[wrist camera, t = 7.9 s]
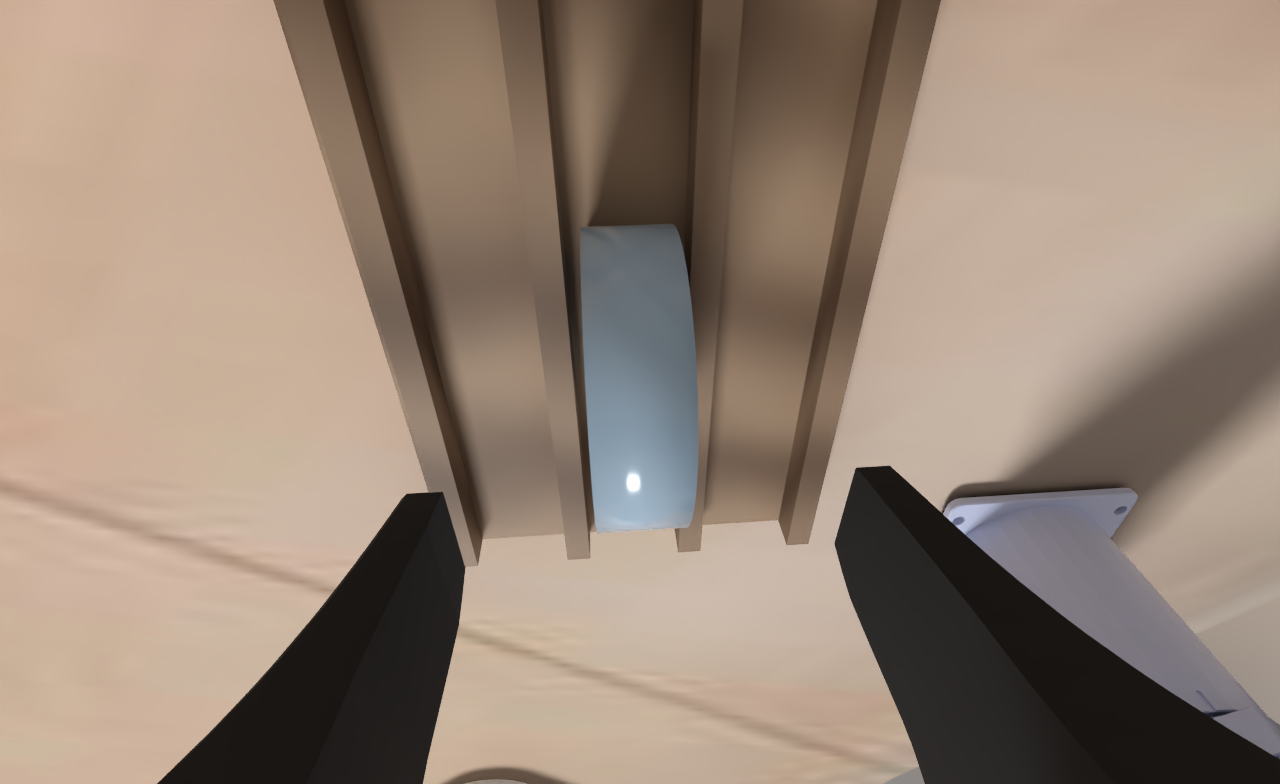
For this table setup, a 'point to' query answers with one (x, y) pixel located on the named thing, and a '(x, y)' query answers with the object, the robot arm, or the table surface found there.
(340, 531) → the table surface
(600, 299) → the blue-grey thick rounded disc
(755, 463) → the rack
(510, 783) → the computer
